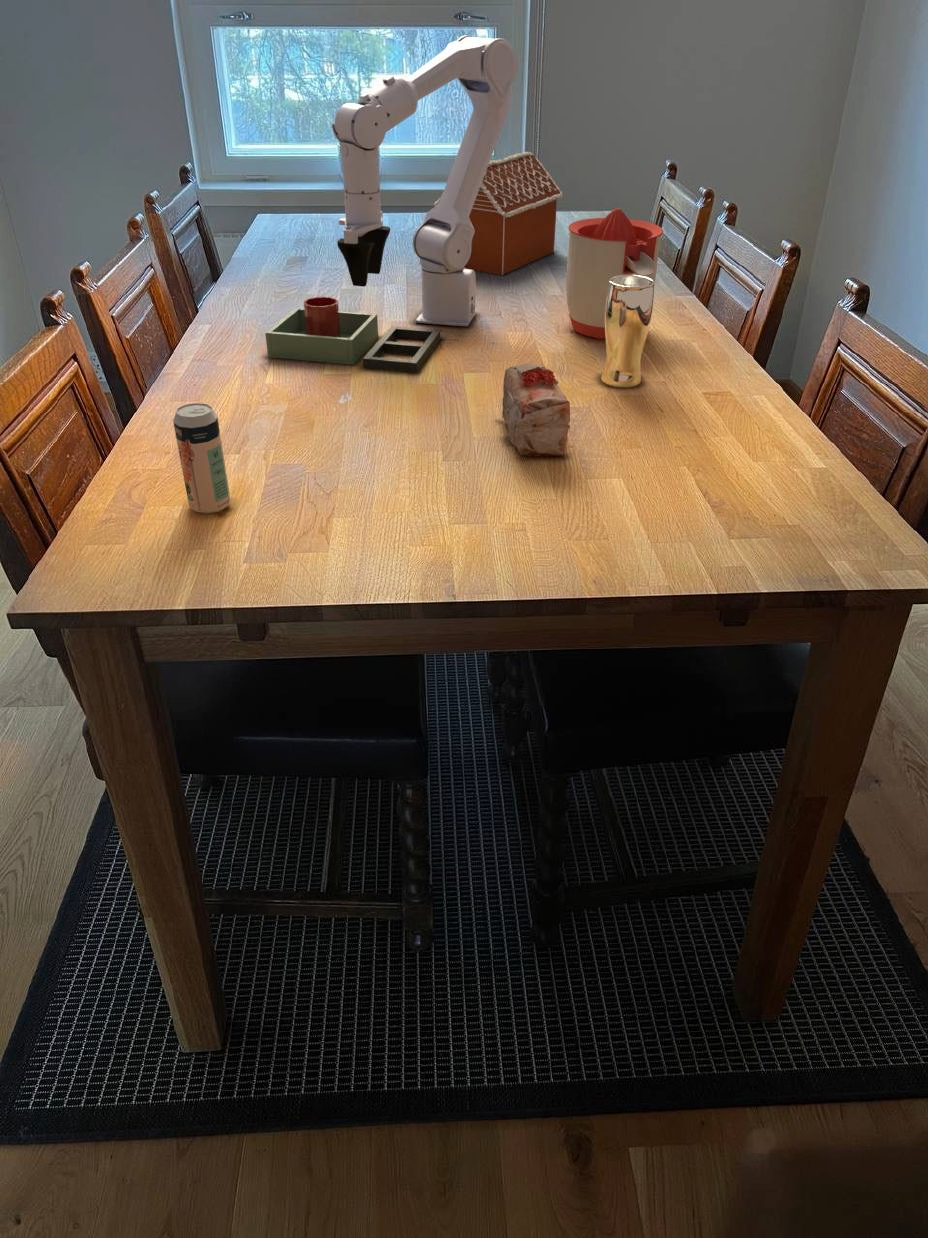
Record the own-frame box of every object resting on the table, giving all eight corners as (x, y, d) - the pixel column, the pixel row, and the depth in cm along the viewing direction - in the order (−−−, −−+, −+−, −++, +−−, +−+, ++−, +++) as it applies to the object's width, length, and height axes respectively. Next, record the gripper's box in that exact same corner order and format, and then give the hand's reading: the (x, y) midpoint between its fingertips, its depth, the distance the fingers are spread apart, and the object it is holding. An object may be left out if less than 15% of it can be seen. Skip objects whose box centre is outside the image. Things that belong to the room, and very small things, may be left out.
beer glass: (647, 375, 143) (659, 276, 134) (639, 391, 138) (651, 289, 129) (603, 369, 145) (613, 272, 136) (593, 385, 140) (603, 284, 131)
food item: (574, 460, 118) (580, 387, 113) (514, 464, 117) (517, 391, 111) (547, 418, 129) (552, 349, 124) (492, 422, 128) (494, 352, 122)
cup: (345, 340, 154) (342, 297, 150) (334, 350, 150) (331, 307, 146) (314, 337, 155) (310, 295, 151) (302, 348, 151) (298, 305, 147)
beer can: (193, 497, 109) (175, 401, 102) (233, 495, 110) (218, 400, 103) (186, 516, 105) (167, 419, 98) (228, 515, 106) (212, 418, 99)
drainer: (441, 338, 157) (441, 329, 156) (416, 372, 143) (416, 363, 143) (391, 334, 158) (391, 325, 157) (362, 367, 145) (362, 358, 144)
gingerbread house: (562, 251, 205) (569, 152, 193) (504, 277, 187) (508, 170, 176) (492, 239, 213) (494, 144, 201) (430, 264, 195) (428, 160, 184)
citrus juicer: (599, 353, 151) (611, 224, 140) (544, 323, 164) (551, 202, 152) (674, 339, 157) (692, 215, 145) (616, 311, 170) (628, 194, 158)
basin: (378, 337, 157) (377, 313, 154) (353, 364, 146) (352, 339, 144) (298, 330, 159) (295, 307, 157) (268, 357, 148) (265, 332, 146)
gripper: (352, 180, 151) (357, 266, 159) (322, 198, 139) (329, 289, 147) (393, 182, 150) (396, 268, 157) (366, 200, 138) (371, 292, 146)
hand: (366, 279), depth 152 cm, fingers open, 7 cm apart
